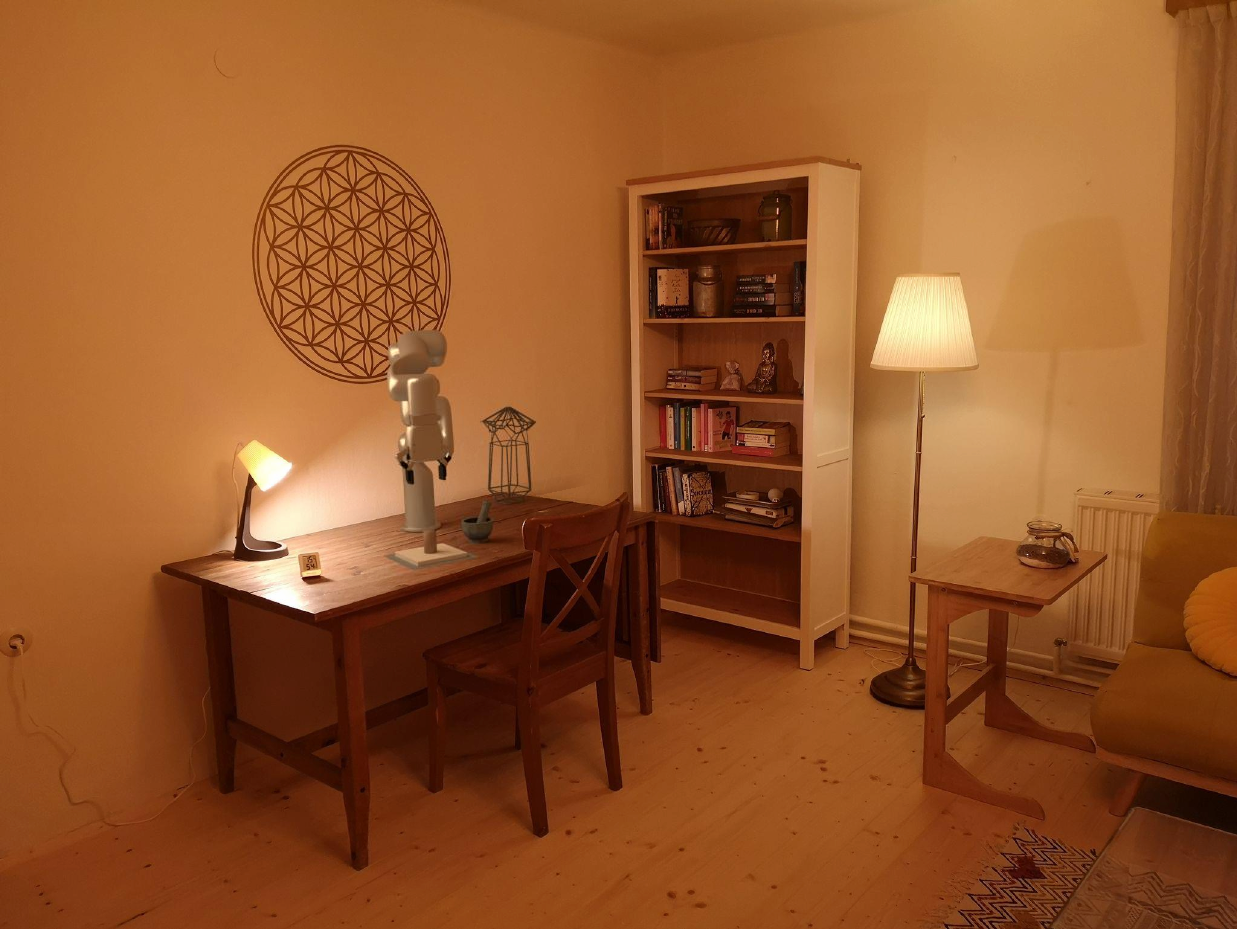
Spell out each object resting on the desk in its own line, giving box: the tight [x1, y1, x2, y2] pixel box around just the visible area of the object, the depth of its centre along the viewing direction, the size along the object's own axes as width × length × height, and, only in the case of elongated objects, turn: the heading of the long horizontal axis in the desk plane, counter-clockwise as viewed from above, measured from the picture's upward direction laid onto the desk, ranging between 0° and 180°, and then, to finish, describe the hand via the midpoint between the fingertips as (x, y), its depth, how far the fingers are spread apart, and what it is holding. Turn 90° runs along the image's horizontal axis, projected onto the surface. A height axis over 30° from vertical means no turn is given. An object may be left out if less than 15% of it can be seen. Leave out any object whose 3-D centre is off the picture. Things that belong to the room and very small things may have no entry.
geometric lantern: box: [480, 406, 537, 505], centre depth 347 cm, size 16×16×35 cm
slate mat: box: [383, 543, 479, 571], centre depth 271 cm, size 20×20×1 cm
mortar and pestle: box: [460, 500, 494, 544], centre depth 289 cm, size 11×9×12 cm
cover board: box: [394, 529, 467, 566], centre depth 271 cm, size 15×15×7 cm
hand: (426, 481), depth 268 cm, fingers open, 9 cm apart
